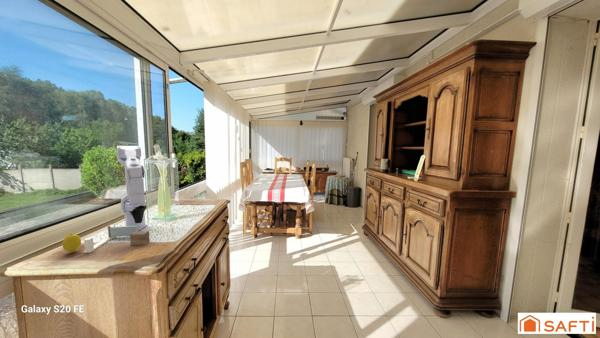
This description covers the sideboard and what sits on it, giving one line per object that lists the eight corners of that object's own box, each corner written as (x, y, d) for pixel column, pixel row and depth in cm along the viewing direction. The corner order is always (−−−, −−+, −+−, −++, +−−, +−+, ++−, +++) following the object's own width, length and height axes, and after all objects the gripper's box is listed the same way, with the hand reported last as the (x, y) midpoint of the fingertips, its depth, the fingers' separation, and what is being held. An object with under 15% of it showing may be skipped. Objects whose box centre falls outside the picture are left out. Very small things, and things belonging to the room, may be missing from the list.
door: (108, 237, 110) (107, 226, 110) (110, 235, 112) (109, 225, 112) (136, 235, 112) (135, 225, 112) (138, 234, 114) (137, 223, 114)
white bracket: (110, 236, 114) (110, 225, 113) (116, 235, 114) (115, 225, 114) (83, 253, 96) (82, 240, 95) (90, 252, 96) (89, 239, 96)
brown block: (135, 242, 107) (134, 231, 106) (149, 241, 108) (148, 230, 108) (130, 245, 103) (129, 234, 102) (145, 244, 104) (144, 233, 104)
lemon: (60, 256, 93) (58, 237, 92) (66, 251, 98) (64, 232, 97) (79, 253, 95) (77, 234, 94) (84, 248, 100) (82, 230, 99)
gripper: (134, 190, 110) (136, 218, 111) (117, 196, 96) (119, 228, 97) (151, 189, 111) (152, 217, 112) (136, 196, 97) (138, 227, 98)
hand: (138, 222), depth 105 cm, fingers closed
